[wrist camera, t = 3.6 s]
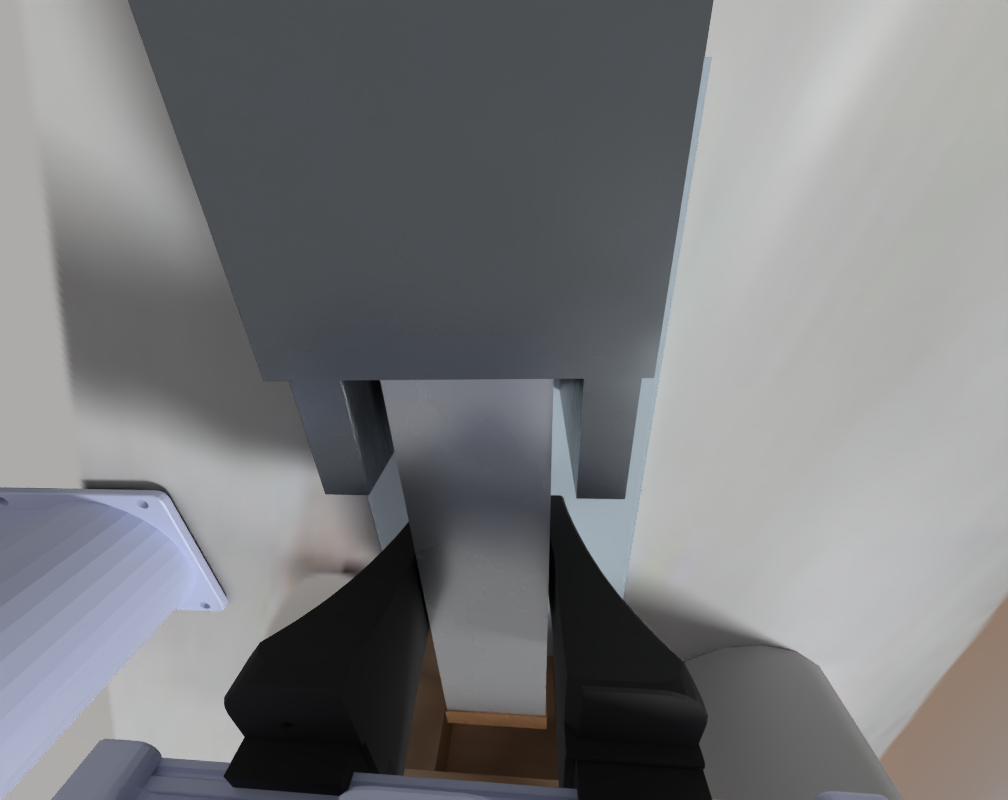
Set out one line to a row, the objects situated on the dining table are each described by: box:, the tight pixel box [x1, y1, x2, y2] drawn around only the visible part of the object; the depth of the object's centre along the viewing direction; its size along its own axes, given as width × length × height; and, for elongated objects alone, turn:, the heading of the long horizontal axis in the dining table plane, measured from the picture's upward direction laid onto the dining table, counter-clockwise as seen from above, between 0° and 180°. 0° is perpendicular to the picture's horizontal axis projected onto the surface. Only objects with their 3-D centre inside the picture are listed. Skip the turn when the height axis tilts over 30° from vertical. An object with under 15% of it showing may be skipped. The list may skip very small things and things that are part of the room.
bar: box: [380, 379, 554, 729], centre depth 12 cm, size 4×17×5 cm, turn 2°
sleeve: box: [128, 0, 713, 499], centre depth 8 cm, size 6×8×6 cm
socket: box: [404, 628, 559, 788], centre depth 17 cm, size 8×4×6 cm, turn 92°
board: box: [368, 57, 712, 656], centre depth 15 cm, size 11×25×1 cm, turn 2°
